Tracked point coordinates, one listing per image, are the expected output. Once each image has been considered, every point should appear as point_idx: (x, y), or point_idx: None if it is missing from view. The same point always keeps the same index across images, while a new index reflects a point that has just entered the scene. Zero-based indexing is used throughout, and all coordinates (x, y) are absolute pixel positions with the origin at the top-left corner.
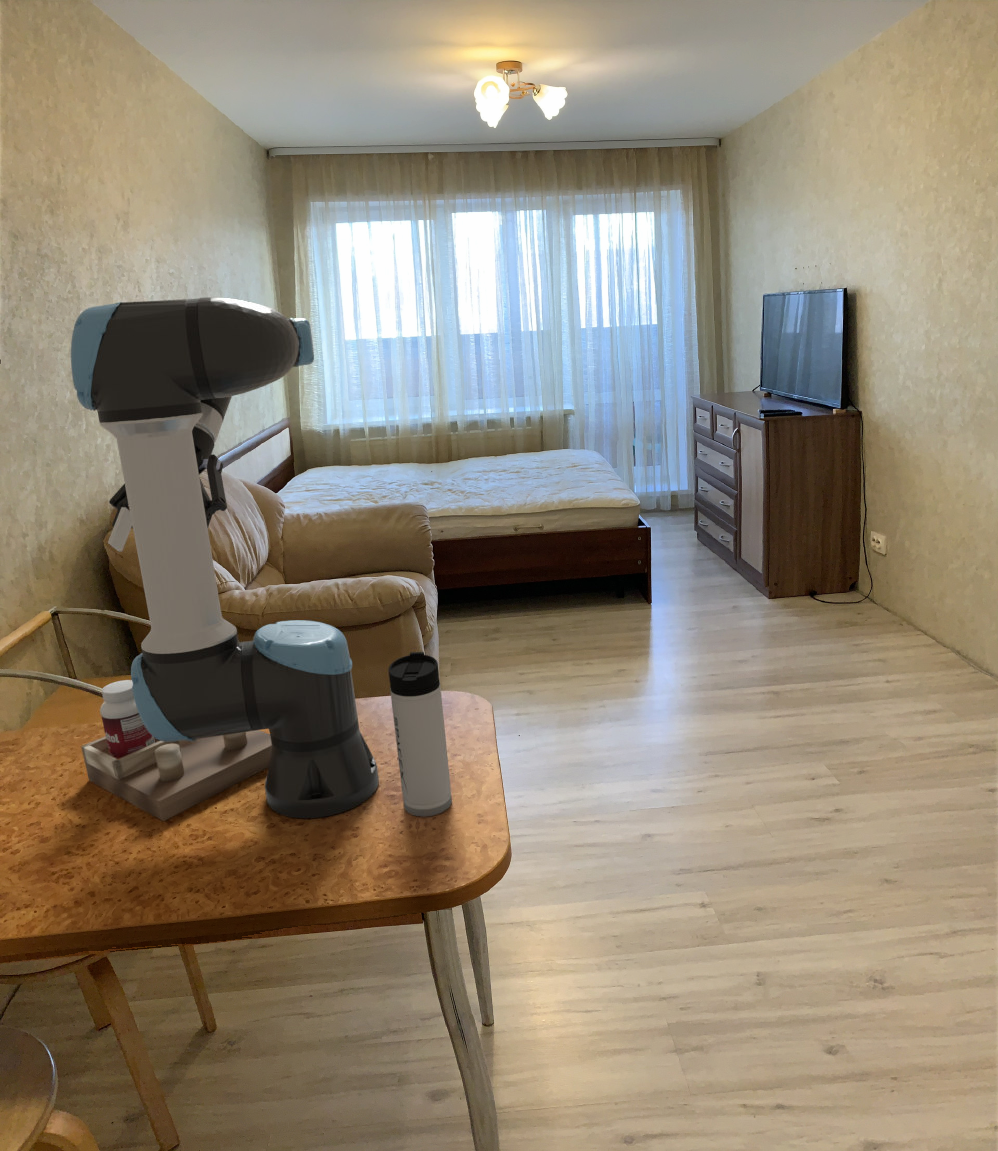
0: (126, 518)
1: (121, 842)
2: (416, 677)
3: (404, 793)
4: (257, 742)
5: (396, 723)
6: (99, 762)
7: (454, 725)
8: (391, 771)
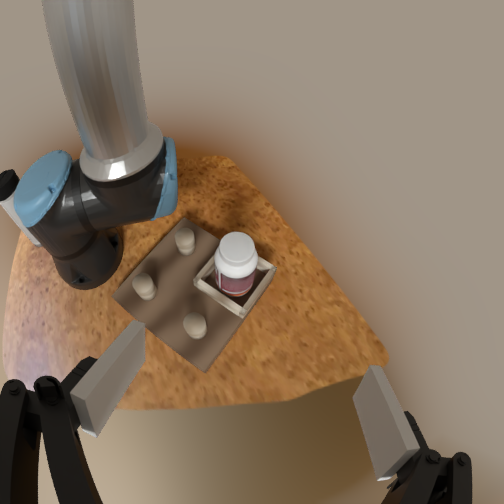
0: (387, 441)
1: (204, 208)
2: (5, 174)
3: None
4: (131, 293)
5: None
6: None
7: (16, 332)
8: (53, 273)
